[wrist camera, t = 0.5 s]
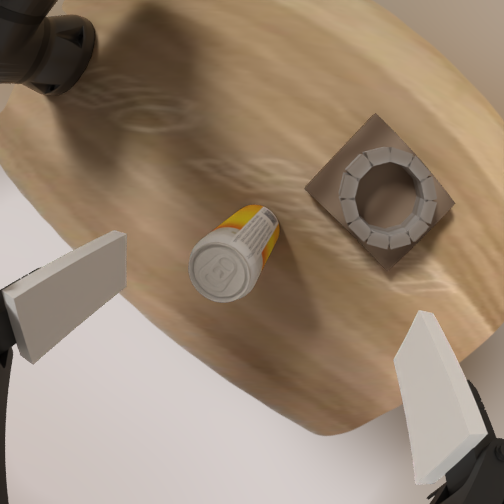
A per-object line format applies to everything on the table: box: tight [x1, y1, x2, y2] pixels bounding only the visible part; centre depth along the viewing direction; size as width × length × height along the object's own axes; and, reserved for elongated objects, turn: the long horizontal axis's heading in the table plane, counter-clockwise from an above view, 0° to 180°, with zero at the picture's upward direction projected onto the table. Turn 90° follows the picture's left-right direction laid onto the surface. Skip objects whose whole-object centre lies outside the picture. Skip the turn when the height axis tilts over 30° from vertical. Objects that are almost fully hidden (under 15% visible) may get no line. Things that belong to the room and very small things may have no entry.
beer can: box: [188, 205, 280, 303], centre depth 31 cm, size 6×6×15 cm
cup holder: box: [305, 113, 455, 271], centre depth 31 cm, size 14×12×6 cm
